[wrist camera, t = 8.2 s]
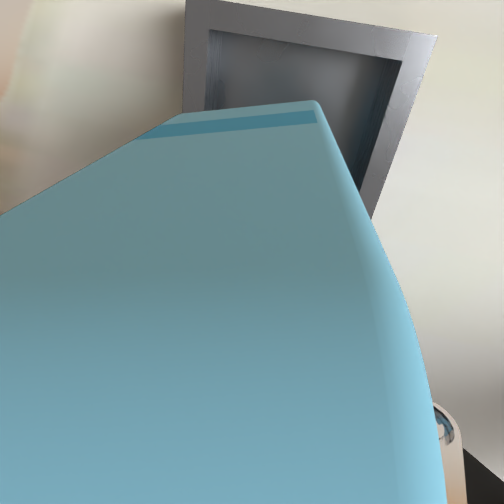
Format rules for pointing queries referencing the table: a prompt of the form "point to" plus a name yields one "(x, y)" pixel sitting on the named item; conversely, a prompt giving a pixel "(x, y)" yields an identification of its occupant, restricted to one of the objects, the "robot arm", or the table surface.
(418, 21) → the table surface
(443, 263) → the table surface
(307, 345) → the data package
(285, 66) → the rack
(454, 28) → the table surface
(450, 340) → the table surface
